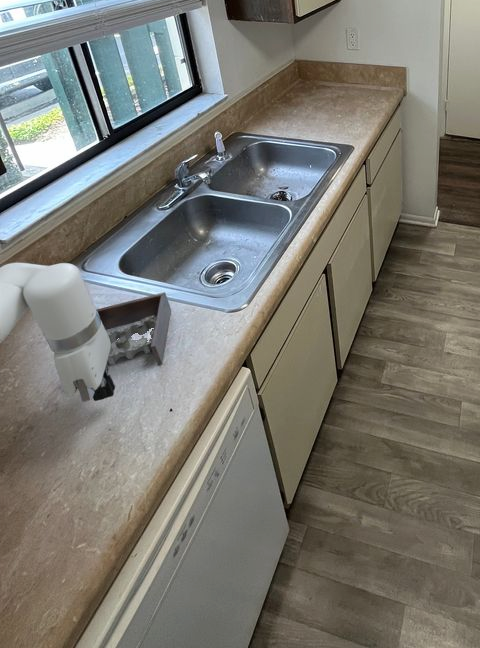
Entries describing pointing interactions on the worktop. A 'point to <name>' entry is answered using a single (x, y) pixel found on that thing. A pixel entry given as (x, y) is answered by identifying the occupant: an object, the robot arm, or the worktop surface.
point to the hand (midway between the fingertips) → (105, 394)
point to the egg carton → (125, 344)
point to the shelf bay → (138, 311)
